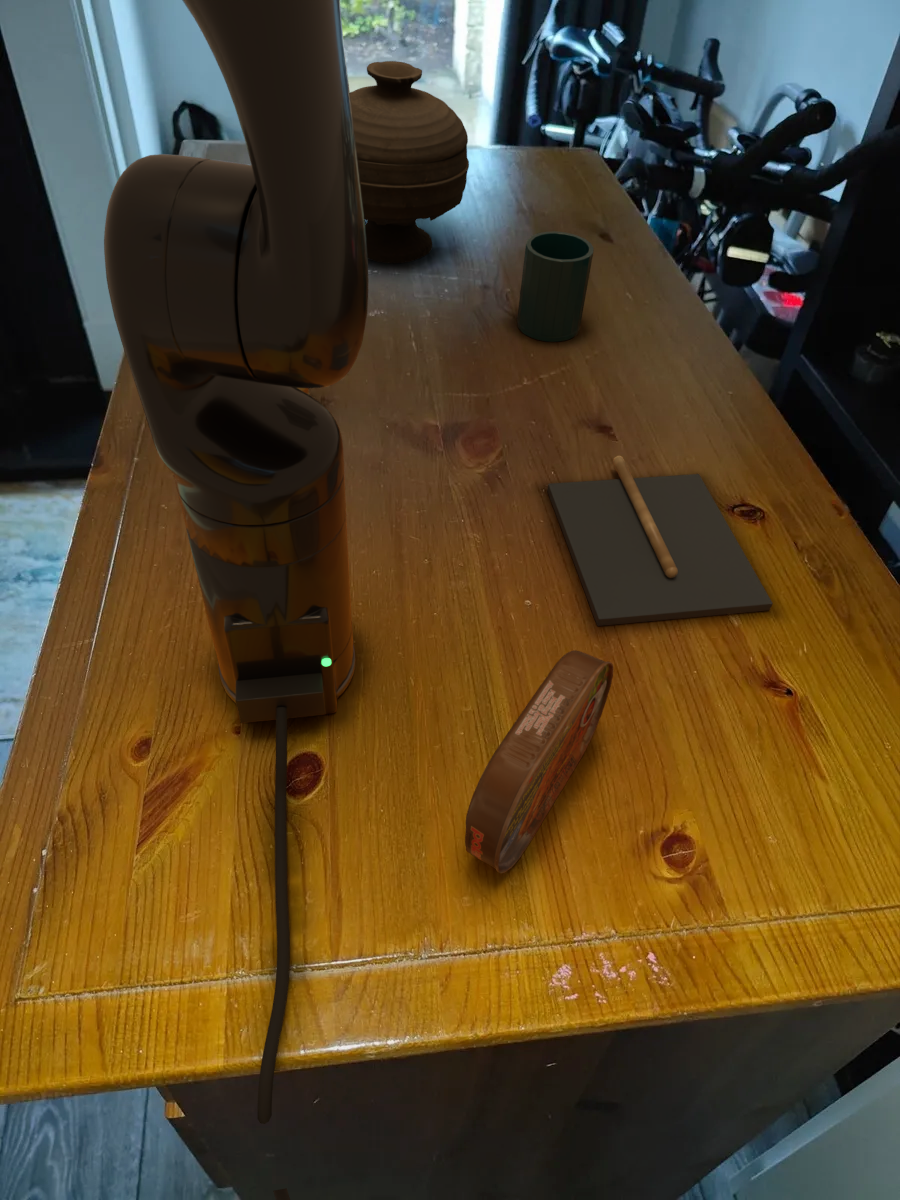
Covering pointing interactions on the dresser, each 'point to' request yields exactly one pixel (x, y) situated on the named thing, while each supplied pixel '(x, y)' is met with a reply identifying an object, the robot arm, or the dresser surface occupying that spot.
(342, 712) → the dresser surface
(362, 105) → the pot
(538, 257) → the cup
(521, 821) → the tin
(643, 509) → the stirring stick
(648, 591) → the mat
